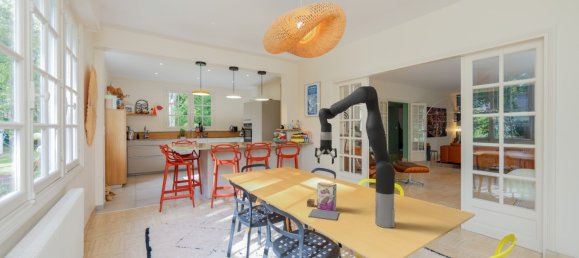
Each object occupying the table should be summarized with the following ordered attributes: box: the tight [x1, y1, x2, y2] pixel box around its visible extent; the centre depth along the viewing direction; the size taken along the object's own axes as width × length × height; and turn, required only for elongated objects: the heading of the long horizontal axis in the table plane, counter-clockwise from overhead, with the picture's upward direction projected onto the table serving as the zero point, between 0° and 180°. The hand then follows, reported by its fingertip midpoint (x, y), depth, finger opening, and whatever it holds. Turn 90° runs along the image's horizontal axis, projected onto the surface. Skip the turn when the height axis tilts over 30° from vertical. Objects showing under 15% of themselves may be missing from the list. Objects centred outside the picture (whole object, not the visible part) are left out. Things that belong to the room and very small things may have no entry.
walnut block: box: [306, 198, 315, 208], centre depth 156 cm, size 4×4×4 cm
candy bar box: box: [316, 181, 337, 211], centre depth 149 cm, size 11×5×16 cm, turn 58°
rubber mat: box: [308, 208, 340, 221], centre depth 140 cm, size 16×12×1 cm
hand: (325, 163), depth 155 cm, fingers open, 8 cm apart
